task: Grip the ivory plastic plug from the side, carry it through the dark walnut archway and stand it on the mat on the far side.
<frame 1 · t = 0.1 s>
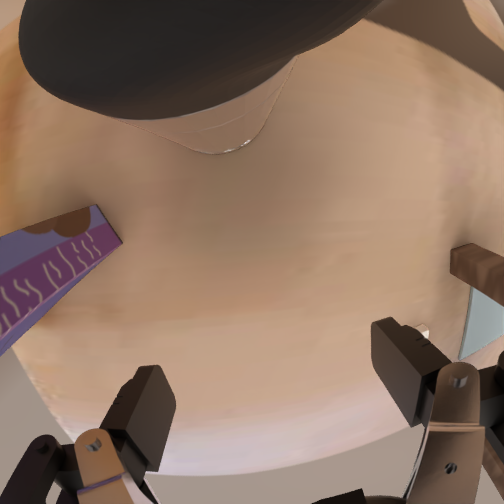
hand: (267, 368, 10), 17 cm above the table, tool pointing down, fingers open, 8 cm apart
cereal box: (62, 268, 26), on the table
mat: (492, 308, 30), on the table
archway: (454, 328, 30), on the table
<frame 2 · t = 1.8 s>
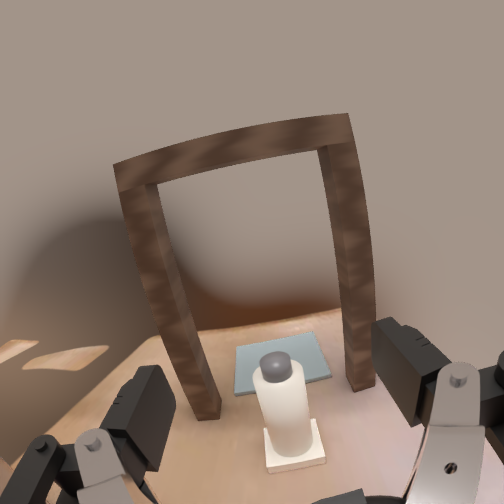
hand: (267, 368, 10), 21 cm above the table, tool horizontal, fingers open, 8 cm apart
mat: (279, 362, 43), on the table
plug: (294, 449, 25), on the table
archway: (285, 399, 34), on the table
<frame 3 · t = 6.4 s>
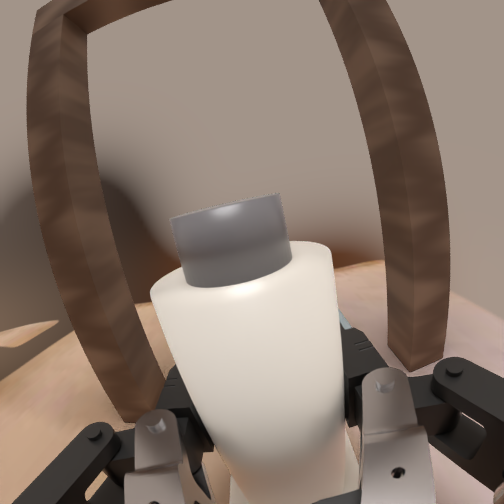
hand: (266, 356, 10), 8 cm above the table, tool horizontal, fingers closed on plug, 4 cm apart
plug: (298, 496, 9), on the table, touching gripper
archway: (281, 390, 18), on the table
when the fingers open (8 cm above the table, at t = 12.9 s): plug stays where it is, resting on mat.
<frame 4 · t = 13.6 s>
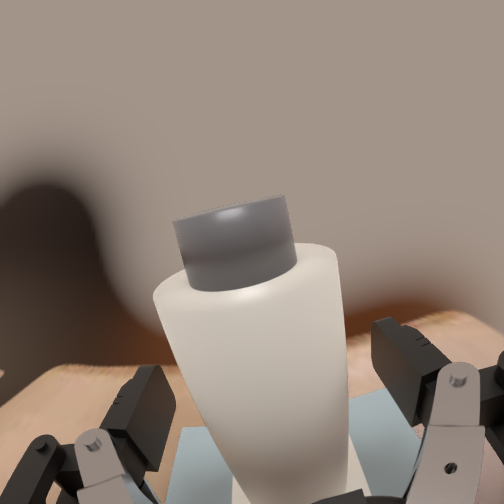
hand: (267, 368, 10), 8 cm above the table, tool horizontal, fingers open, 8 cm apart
mat: (299, 501, 9), on the table
plug: (300, 498, 9), point 1 cm above the table, touching mat
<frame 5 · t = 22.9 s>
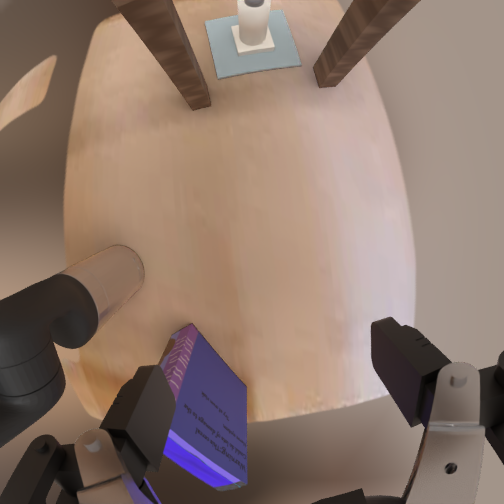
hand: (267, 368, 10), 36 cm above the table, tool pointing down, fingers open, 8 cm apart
cereal box: (210, 362, 50), on the table
mat: (251, 41, 38), on the table
plug: (252, 40, 37), point 1 cm above the table, touching mat
archway: (263, 84, 40), on the table
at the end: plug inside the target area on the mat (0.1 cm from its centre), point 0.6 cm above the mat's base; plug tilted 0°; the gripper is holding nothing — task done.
